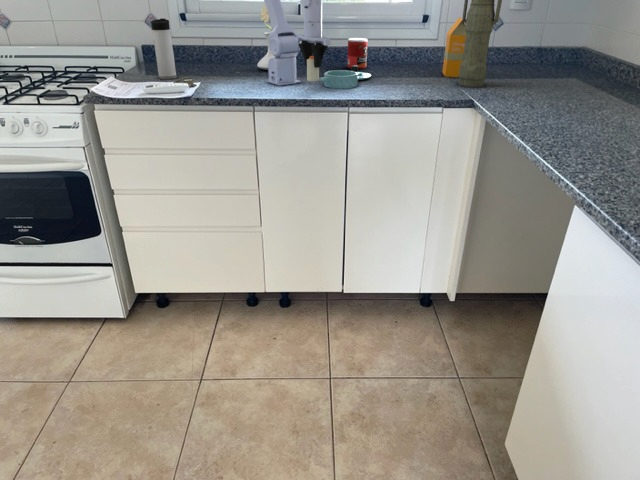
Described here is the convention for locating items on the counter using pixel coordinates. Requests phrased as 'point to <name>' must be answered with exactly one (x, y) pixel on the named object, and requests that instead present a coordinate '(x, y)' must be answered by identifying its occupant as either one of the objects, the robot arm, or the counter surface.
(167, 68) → the travel mug
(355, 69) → the lid
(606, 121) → the counter surface
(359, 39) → the canned food
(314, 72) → the bottle
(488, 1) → the thermos
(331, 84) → the pot
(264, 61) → the flower in vase
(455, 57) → the orange juice
